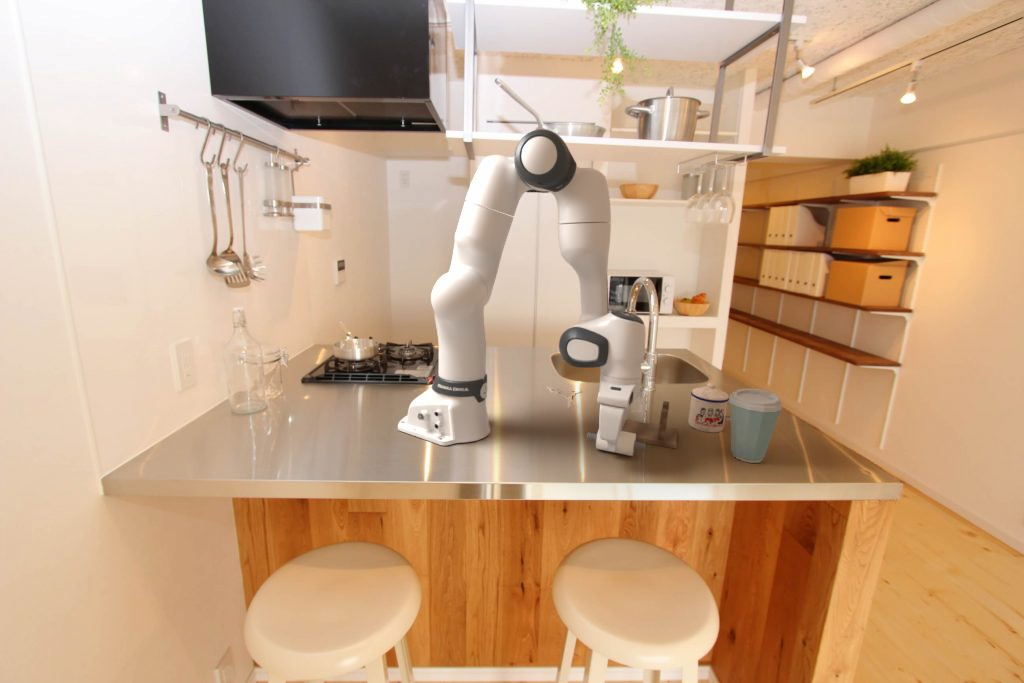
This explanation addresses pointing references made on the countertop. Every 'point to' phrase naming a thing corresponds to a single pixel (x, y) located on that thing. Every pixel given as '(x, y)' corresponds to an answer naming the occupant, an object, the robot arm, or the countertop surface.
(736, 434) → the disposable coffee cup
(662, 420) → the roll holder
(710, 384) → the teacup with lid
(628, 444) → the paper roll
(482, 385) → the robot arm
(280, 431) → the countertop surface
